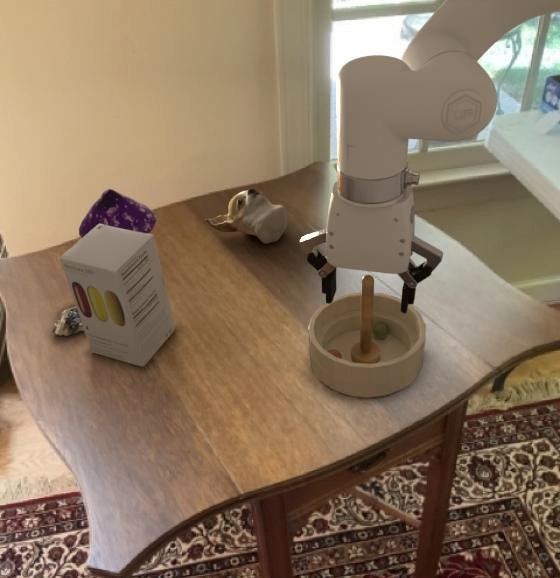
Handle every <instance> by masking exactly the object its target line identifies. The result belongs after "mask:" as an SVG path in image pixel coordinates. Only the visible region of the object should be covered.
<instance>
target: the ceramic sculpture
mask: <svg viewBox="0 0 560 578" xmlns="http://www.w3.org/2000/svg"><path fill="white" fill-rule="evenodd" d="M286 209H287V208H286V207H285V206H284V205H283V204H273V203H272V202H270V200H269V199H268V198H267V197H266V196H265V194H264V193H263V192H261V191H260V190H256V189H255V188H249V189H248V190H242V191H240V192H239V193H237V194H235V195H234V196H232V198H231V199H230V201H229V203H228V213H227V214H220V215H218V216H215V217H214V218H205V219H204V221H205V222H206V223H207V224H208V225H209V226H210V227H212V228H213V229H215V230H217V231H219V232H222V233H236V232H239V233H242V234H246V235H252V236H256V237H257V239H259V241H260V242H262V243H263V244H265V245H267V244H271V243H275V242H277V241H278V240H280V238H281V237H282V235H283V234H284V233H285V231H286V228H287V225H288V215H287V214H288V212H287V210H286Z"/></svg>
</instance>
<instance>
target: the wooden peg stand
mask: <svg viewBox="0 0 560 578" xmlns="http://www.w3.org/2000/svg"><path fill="white" fill-rule="evenodd" d="M360 282H361V284H360V285H361V286H360V292H361V323H360V342H359V343H356V344H355V345H354V346H353V347H352V349H351V359H352V361H353V362H354V363H364V364H373V363H378V362H379V360H380V348H379V347H378V345H376V344H375V343H372V327H373V302H374V293H375V278H374V276H373V275H371V274H365V275H363V276H362V278H361V281H360Z"/></svg>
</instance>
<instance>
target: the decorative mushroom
mask: <svg viewBox="0 0 560 578" xmlns="http://www.w3.org/2000/svg"><path fill="white" fill-rule="evenodd" d="M156 223H157V217H156V213H155V212H154V211H153V210H152V209H151V208H150V207H148V205H146V204H143V203H141V202H139V201H137V200H135V199H134V198H131V197H130V196H128V195H125V194H122V193H120V192H119V191H116V190H114V189H112V188H108V189H105V190H104V191H103V192H102V193H101V196H100V197H99V198H98V199H97V200H96V201H95V202H94V203H93V204H92V206H91V207H90V208H89V210H87V213H86V214H85V216H84V218H83V219H82V221H81V223H80V224H79V227H78V235H79V237H80V239H82V238H83V237H84V236H85V235H86V234H87V233H89V232H90V231H91V230H92V229H93V228H94V227H96V226H97V225H98V224H104V225H108V226H112V227H117V228H121V229H126V230H131V231H136V232H141V233H147V234H151V232H152V231H153V229H154V228H155V226H156Z"/></svg>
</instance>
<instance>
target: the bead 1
mask: <svg viewBox="0 0 560 578" xmlns="http://www.w3.org/2000/svg"><path fill="white" fill-rule="evenodd" d="M328 352H329V353H330V354H332V355H333V356H335V357H337V358H340V359H342V355H341V353H340V352H339V351H337V350H334V349H332V350H329V351H328Z"/></svg>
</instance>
